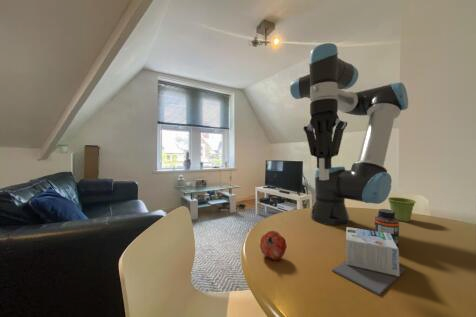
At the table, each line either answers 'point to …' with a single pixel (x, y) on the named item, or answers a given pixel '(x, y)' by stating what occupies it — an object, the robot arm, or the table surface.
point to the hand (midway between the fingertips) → (324, 179)
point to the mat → (366, 277)
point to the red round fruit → (273, 245)
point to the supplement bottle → (388, 224)
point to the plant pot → (402, 208)
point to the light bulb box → (372, 251)
